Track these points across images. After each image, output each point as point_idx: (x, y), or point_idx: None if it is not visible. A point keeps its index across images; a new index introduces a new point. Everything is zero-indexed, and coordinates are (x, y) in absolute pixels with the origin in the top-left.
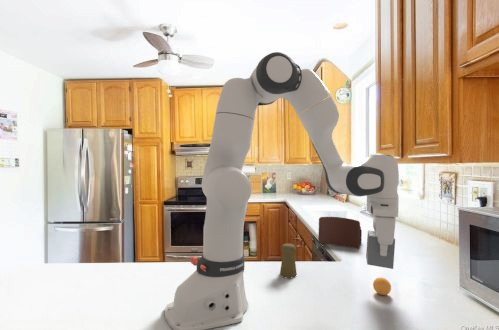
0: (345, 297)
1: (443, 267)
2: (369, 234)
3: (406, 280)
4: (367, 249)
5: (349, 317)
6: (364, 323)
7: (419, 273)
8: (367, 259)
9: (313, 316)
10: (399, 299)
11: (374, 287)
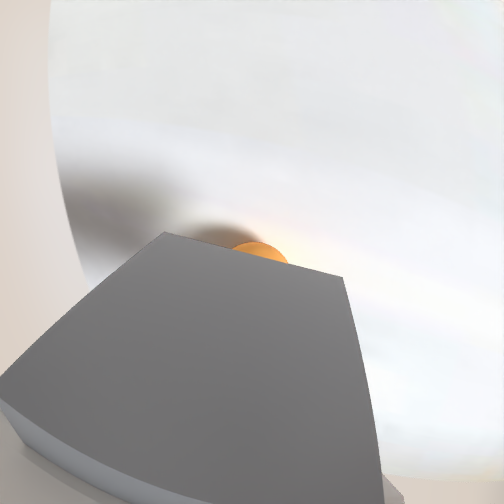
0: (200, 103)
1: (438, 467)
2: (54, 439)
3: (384, 388)
4: (217, 302)
5: (78, 110)
6: (60, 149)
7: (424, 427)
8: (158, 247)
9: (78, 20)
10: None
11: (244, 243)
